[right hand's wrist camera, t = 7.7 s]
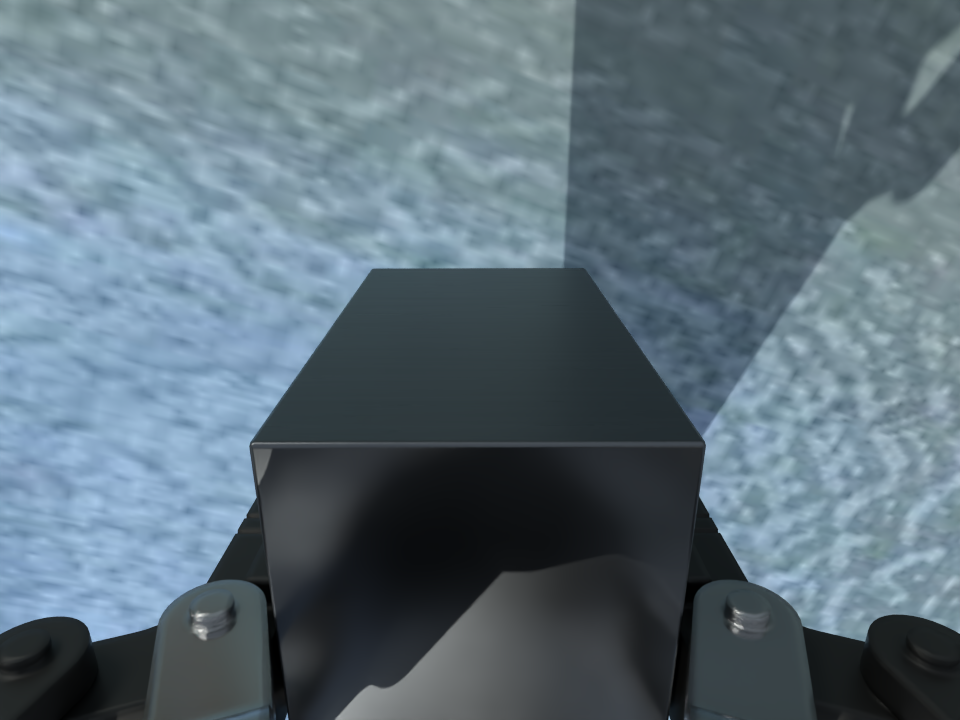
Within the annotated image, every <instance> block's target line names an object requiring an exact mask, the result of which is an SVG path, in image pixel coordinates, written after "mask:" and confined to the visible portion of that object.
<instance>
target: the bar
mask: <svg viewBox="0 0 960 720" xmlns="http://www.w3.org/2000/svg"><path fill="white" fill-rule="evenodd" d="M249 447H250V454H251V461H252V468H253V475H254V482H255V489H256V496H257V503H258V510H259V517H260V524H261V531H262V538H263V545H264V552H265V559H266V566H267V573H268V579H269V586H270V593H271V600H272V607H273V614H274V621H275V628H276V635H277V642H278V649H279V656H280V663H281V670H282V677H283V684H284V691H285V698H286V705H287V712H288V719H289V720H668V718H669V710H670V703H671V696H672V689H673V681H674V674H675V667H676V659H677V652H678V645H679V637H680V630H681V623H682V616H683V608H684V601H685V594H686V586H687V579H688V572H689V565H690V557H691V550H692V543H693V535H694V528H695V521H696V514H697V506H698V499H699V492H700V484H701V477H702V470H703V462H704V455H705V448H706V444H705V441H704V440H703V438H702V437H701V436H700V434H699V433H698V431H697V430H696V428H695V427H694V425H693V424H692V423H691V421H690V420H689V418H688V417H687V415H686V414H685V412H684V411H683V410H682V408H681V407H680V405H679V404H678V402H677V401H676V399H675V398H674V397H673V395H672V394H671V392H670V391H669V389H668V388H667V386H666V385H665V384H664V382H663V381H662V379H661V378H660V376H659V375H658V373H657V372H656V371H655V369H654V368H653V366H652V365H651V363H650V362H649V361H648V359H647V358H646V356H645V355H644V353H643V352H642V350H641V349H640V348H639V346H638V345H637V343H636V342H635V340H634V339H633V337H632V336H631V335H630V333H629V332H628V330H627V329H626V327H625V326H624V324H623V323H622V322H621V320H620V319H619V317H618V316H617V314H616V313H615V311H614V310H613V309H612V307H611V306H610V304H609V303H608V301H607V300H606V298H605V297H604V296H603V294H602V293H601V291H600V290H599V288H598V287H597V285H596V284H595V283H594V281H593V280H592V278H591V277H590V275H589V274H588V273H587V271H586V270H585V269H584V268H470V269H372V270H371V271H370V273H369V274H368V276H367V277H366V279H365V280H364V281H363V283H362V284H361V286H360V287H359V288H358V290H357V291H356V293H355V294H354V296H353V297H352V298H351V300H350V301H349V303H348V304H347V306H346V307H345V308H344V310H343V311H342V313H341V314H340V316H339V317H338V318H337V320H336V321H335V323H334V324H333V326H332V327H331V328H330V330H329V331H328V333H327V334H326V336H325V337H324V338H323V340H322V341H321V343H320V344H319V345H318V347H317V348H316V350H315V351H314V353H313V354H312V355H311V357H310V358H309V360H308V361H307V363H306V364H305V365H304V367H303V368H302V370H301V371H300V373H299V374H298V375H297V377H296V378H295V380H294V381H293V383H292V384H291V385H290V387H289V388H288V390H287V391H286V393H285V394H284V395H283V397H282V398H281V400H280V401H279V403H278V404H277V405H276V407H275V408H274V410H273V411H272V412H271V414H270V415H269V417H268V418H267V420H266V421H265V422H264V424H263V425H262V427H261V428H260V430H259V431H258V432H257V434H256V435H255V437H254V438H253V440H252V441H251V443H250V446H249Z"/></svg>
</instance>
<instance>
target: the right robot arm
mask: <svg viewBox="0 0 960 720" xmlns="http://www.w3.org/2000/svg"><path fill="white" fill-rule="evenodd" d="M286 715H287V705H286V698H285V691H284V684H283V677H282V670H281V663H280V656H279V649H278V642H277V635H276V628H275V621H274V614H273V607H272V600H271V593H270V586H269V579H268V573H267V566H266V559H265V552H264V545H263V538H262V531H261V524H260V517H259V510H258V503H257V498H256V500H255V502H254V503H253V505H252V507H251V508H250V510H249V512H248V514H247V518H245V519H244V520H243V522H242V524H241V526H240V527H239V529H238V534H235V536H234V537H233V539H232V541H231V543H230V544H229V546H228V548H227V549H226V551H225V553H224V555H223V556H222V558H221V560H220V561H219V563H218V565H217V567H216V568H215V570H214V572H213V573H212V575H211V577H210V579H209V580H208V582H207V584H204V585H201V586H198V587H196V588H194V589H192V590H190V591H188V592H186V593H184V594H183V595H181V596H180V597H178V598H177V599H176V600H174V601H173V602H172V603H171V604H170V605H169V606H168V607H167V608H166V610H165V611H164V612H163V614H162V616H161V618H160V620H159V623H158V625H157V626H154V627H152V628H149V629H146V630H143V631H139V632H135V633H131V634H127V635H122V636H118V637H114V638H109V639H105V640H101V641H96V642H92V640H91V637H90V633H89V630H88V628H87V626H86V625H85V624H84V623H83V622H81V621H79V620H77V619H74V618H70V617H48V618H42V619H38V620H34V621H31V622H27V623H24V624H22V625H19V626H17V627H14V628H12V629H10V630H8V631H6V632H4V633H2V634H0V720H285V718H286ZM669 716H670V719H671V720H960V634H959V633H957V632H956V631H954V630H952V629H950V628H948V627H946V626H943V625H941V624H938V623H936V622H933V621H930V620H927V619H924V618H920V617H915V616H909V615H888V616H884V617H880V618H878V619H877V620H875V621H874V622H873V623H872V624H871V625H870V627H869V630H868V633H867V637H866V641H865V642H864V641H859V640H855V639H850V638H846V637H842V636H837V635H833V634H829V633H824V632H820V631H816V630H813V629H809V628H806V627H803V626H802V623H801V620H800V618H799V616H798V614H797V612H796V611H795V610H794V609H793V607H792V606H791V605H790V604H789V603H788V602H787V601H786V600H784V599H783V598H782V597H780V596H779V595H777V594H776V593H774V592H772V591H770V590H768V589H766V588H764V587H762V586H759V585H756V584H753V583H750V582H748V581H747V579H746V577H745V575H744V574H743V572H742V570H741V568H740V567H739V565H738V563H737V561H736V560H735V558H734V556H733V554H732V553H731V551H730V549H729V548H728V546H727V544H726V542H725V541H724V539H723V537H722V535H721V534H720V533H718V528H717V527H716V525H715V523H714V522H713V520H712V518H709V513H708V511H707V509H706V508H705V506H704V504H703V502H702V501H701V499H700V497H699V499H698V506H697V514H696V521H695V528H694V535H693V543H692V550H691V557H690V565H689V572H688V579H687V586H686V594H685V601H684V608H683V616H682V623H681V630H680V637H679V645H678V652H677V659H676V667H675V674H674V681H673V689H672V696H671V703H670V710H669Z"/></svg>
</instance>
